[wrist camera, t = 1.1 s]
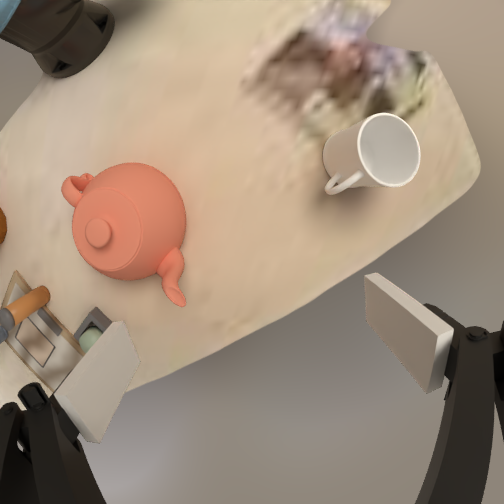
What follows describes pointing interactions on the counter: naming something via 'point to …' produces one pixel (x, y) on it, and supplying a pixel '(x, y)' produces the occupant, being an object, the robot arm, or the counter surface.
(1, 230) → the potted plant
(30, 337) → the clipboard
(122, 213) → the teapot
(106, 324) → the button base
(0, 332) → the blue marker
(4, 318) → the orange marker
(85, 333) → the button
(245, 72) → the counter surface
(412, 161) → the mug
